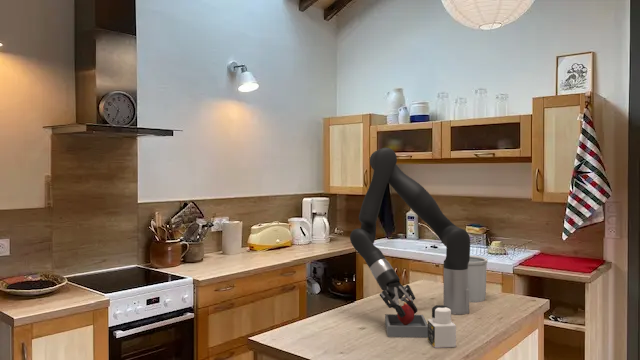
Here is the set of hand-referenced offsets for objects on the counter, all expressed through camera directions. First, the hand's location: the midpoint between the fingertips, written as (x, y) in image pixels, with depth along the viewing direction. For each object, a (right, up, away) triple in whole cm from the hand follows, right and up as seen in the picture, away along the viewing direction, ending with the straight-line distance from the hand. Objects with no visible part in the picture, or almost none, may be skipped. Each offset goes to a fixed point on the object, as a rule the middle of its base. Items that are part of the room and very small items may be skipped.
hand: (409, 314), depth 171 cm
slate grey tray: (-1, -6, +1) cm, 6 cm away
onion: (-1, -4, +1) cm, 5 cm away
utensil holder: (+34, -5, +43) cm, 55 cm away
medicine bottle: (+8, -7, -12) cm, 16 cm away
